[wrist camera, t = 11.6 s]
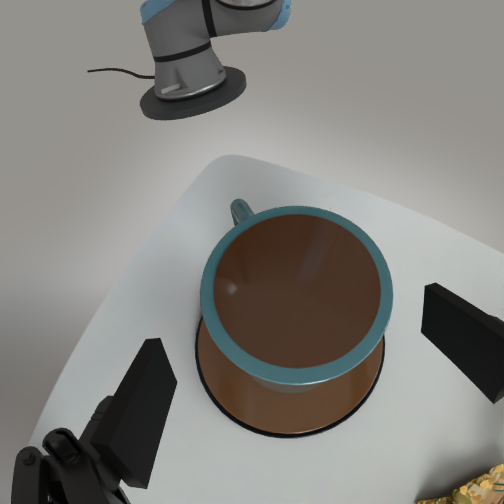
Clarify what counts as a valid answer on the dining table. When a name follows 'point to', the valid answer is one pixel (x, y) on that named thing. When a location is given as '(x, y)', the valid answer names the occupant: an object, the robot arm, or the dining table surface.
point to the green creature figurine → (477, 490)
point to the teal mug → (292, 317)
